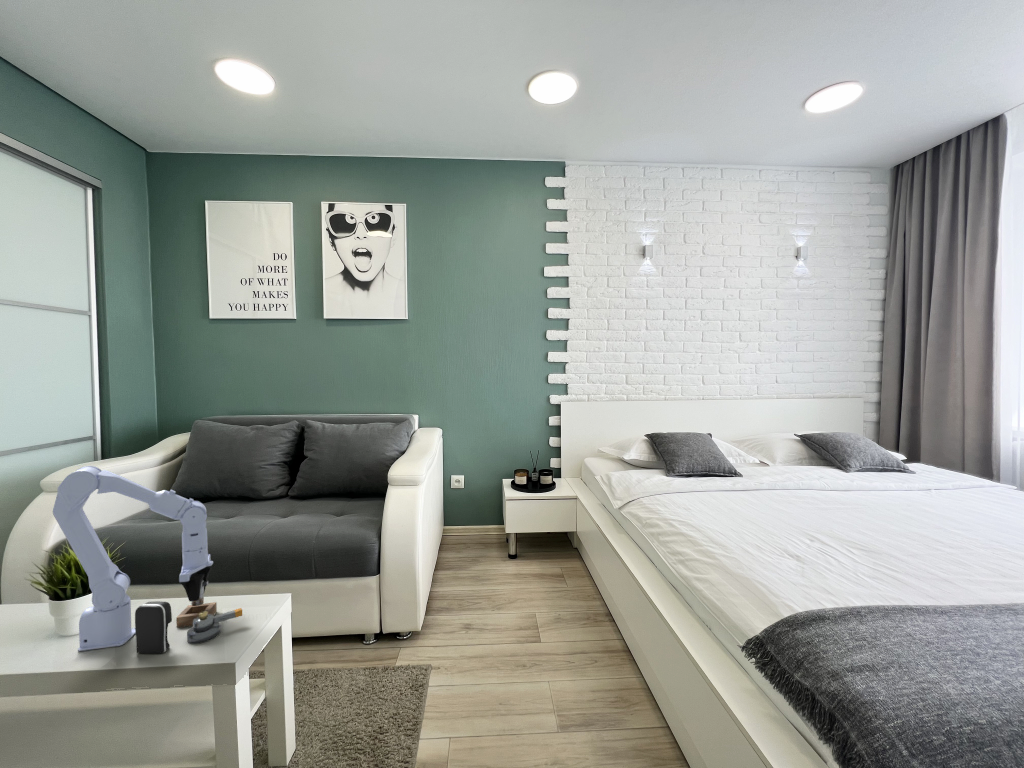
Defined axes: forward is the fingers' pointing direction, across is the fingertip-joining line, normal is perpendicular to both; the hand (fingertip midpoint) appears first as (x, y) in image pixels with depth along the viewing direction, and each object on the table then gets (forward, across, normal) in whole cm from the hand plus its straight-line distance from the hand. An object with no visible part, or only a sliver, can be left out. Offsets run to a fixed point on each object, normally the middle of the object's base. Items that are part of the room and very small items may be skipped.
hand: (196, 597), depth 128 cm
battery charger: (+6, -14, +4) cm, 16 cm away
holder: (+6, 0, 0) cm, 6 cm away
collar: (+4, -9, -8) cm, 13 cm away
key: (+2, 0, 0) cm, 2 cm away
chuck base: (+6, -10, -6) cm, 13 cm away
